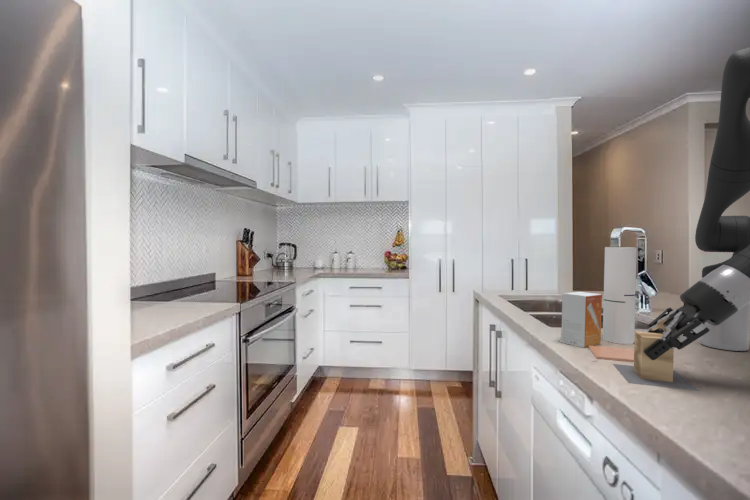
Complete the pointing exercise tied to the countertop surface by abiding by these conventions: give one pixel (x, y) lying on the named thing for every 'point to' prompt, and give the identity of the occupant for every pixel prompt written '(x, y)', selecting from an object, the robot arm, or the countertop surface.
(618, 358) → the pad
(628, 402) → the countertop surface
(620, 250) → the cylindrical container
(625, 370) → the mat
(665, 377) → the maple block
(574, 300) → the small box
